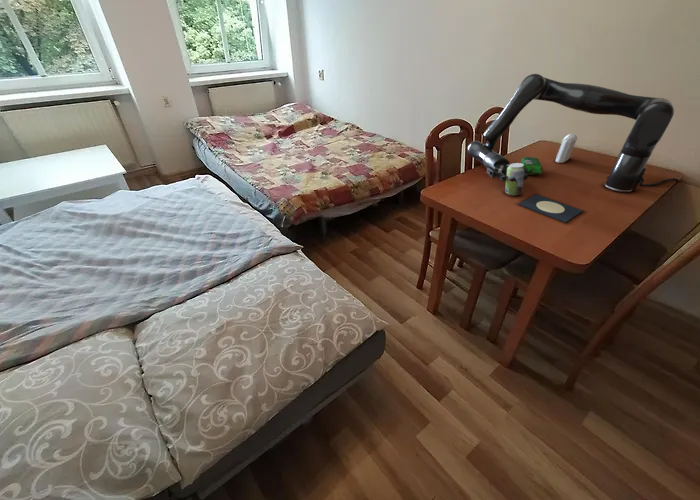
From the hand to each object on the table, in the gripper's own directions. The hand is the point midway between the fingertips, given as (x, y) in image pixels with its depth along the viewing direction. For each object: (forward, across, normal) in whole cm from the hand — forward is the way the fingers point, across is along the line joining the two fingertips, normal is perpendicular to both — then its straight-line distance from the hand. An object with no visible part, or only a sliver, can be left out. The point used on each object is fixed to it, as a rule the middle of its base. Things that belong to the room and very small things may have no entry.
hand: (515, 178), depth 125 cm
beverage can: (0, 0, +7) cm, 7 cm away
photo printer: (-31, +43, +7) cm, 54 cm away
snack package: (-20, +20, +7) cm, 29 cm away
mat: (+13, +8, +7) cm, 17 cm away
